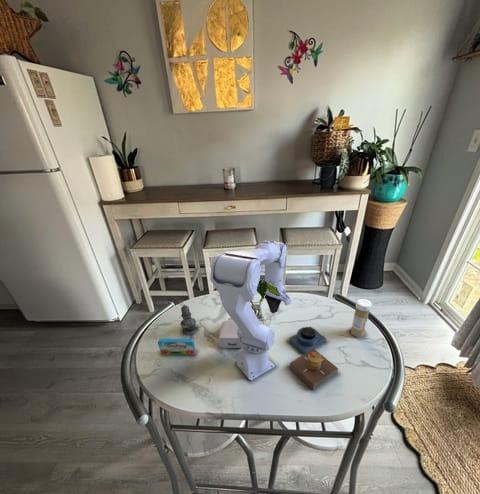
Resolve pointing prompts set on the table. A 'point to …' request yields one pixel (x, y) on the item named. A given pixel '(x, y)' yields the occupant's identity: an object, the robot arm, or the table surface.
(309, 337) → the button
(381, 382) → the table surface
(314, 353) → the dial
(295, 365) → the brown square block
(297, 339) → the button box
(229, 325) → the charger
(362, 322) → the sprinkles bottle
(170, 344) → the blue printed cardboard box
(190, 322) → the grey stone statuette
